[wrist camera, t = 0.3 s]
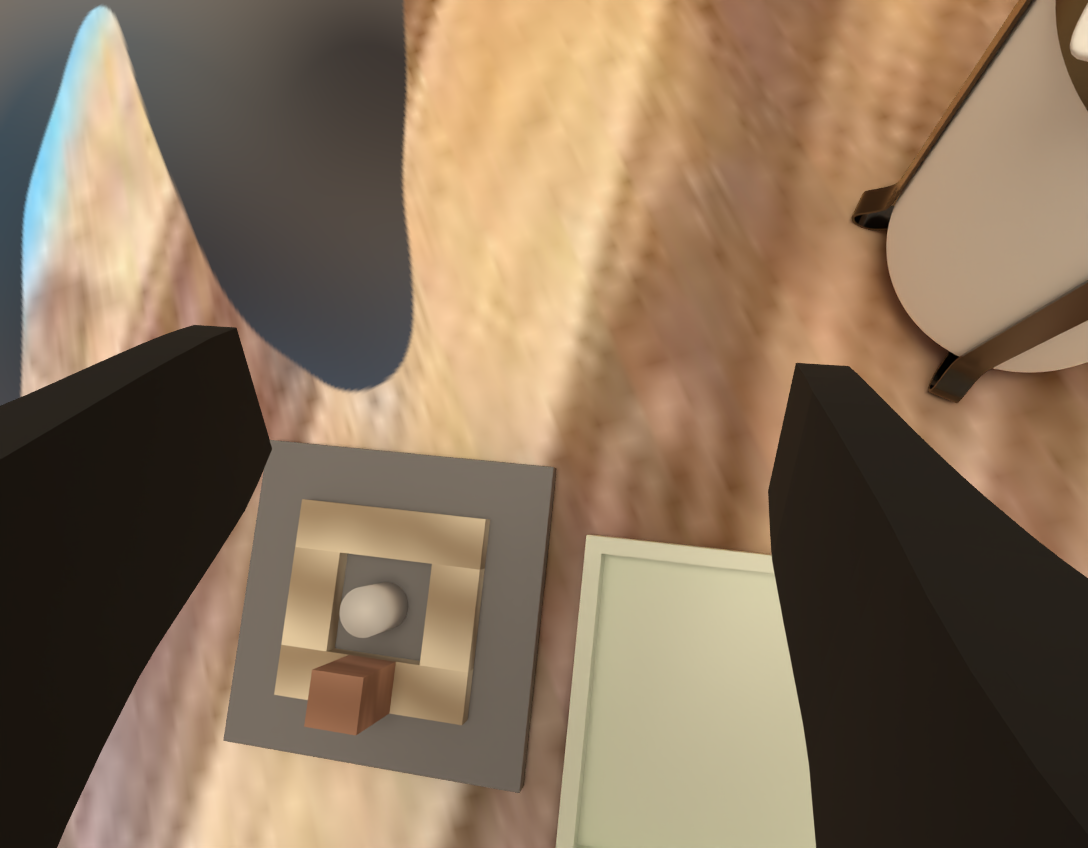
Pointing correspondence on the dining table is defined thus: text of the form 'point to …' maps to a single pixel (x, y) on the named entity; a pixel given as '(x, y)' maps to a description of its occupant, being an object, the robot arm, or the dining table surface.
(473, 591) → the tan square frame
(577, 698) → the sage tray
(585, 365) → the dining table surface
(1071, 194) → the coffee press
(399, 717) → the stake board
